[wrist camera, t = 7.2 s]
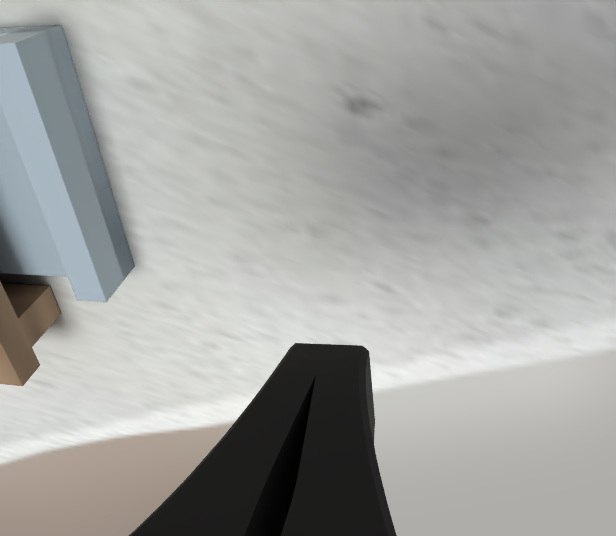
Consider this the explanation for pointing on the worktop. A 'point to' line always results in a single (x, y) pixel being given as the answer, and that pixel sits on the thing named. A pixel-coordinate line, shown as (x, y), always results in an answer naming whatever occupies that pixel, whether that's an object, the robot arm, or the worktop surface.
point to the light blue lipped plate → (54, 171)
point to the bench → (23, 328)
